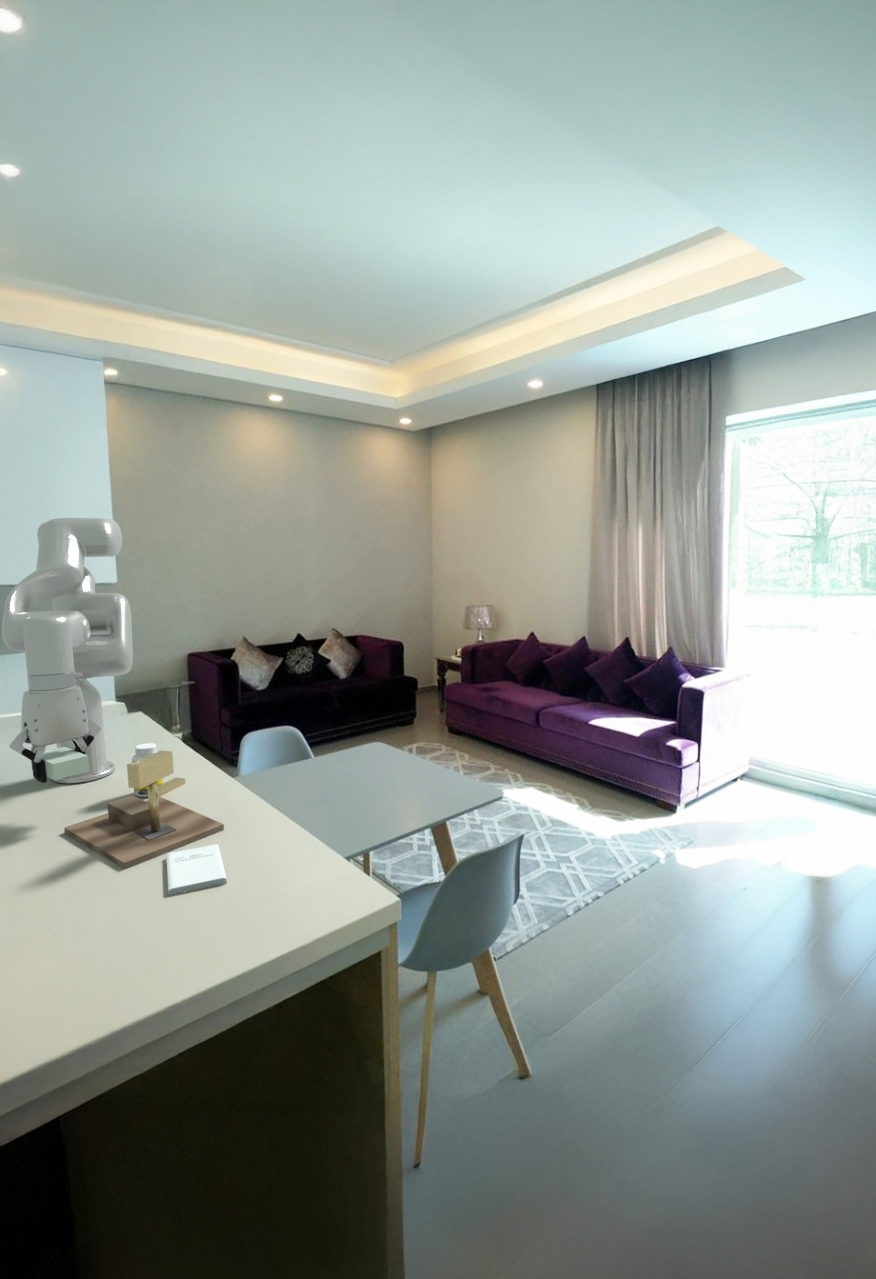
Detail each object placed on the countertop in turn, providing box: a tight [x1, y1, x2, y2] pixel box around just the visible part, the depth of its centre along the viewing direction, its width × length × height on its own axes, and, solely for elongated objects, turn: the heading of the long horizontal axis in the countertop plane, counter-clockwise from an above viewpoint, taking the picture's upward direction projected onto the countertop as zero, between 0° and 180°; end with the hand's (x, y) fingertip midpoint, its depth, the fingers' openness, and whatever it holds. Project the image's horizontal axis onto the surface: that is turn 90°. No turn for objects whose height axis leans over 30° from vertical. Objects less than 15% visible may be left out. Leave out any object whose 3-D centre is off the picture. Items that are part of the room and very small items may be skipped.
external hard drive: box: [166, 843, 228, 896], centre depth 101 cm, size 2×8×12 cm
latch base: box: [63, 795, 225, 870], centre depth 115 cm, size 22×18×4 cm
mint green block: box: [30, 747, 89, 781], centre depth 120 cm, size 10×6×3 cm, turn 52°
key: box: [126, 749, 186, 830], centre depth 114 cm, size 11×2×13 cm, turn 161°
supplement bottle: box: [131, 742, 164, 798], centre depth 133 cm, size 6×6×10 cm
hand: (60, 775), depth 120 cm, fingers closed on mint green block, 6 cm apart
